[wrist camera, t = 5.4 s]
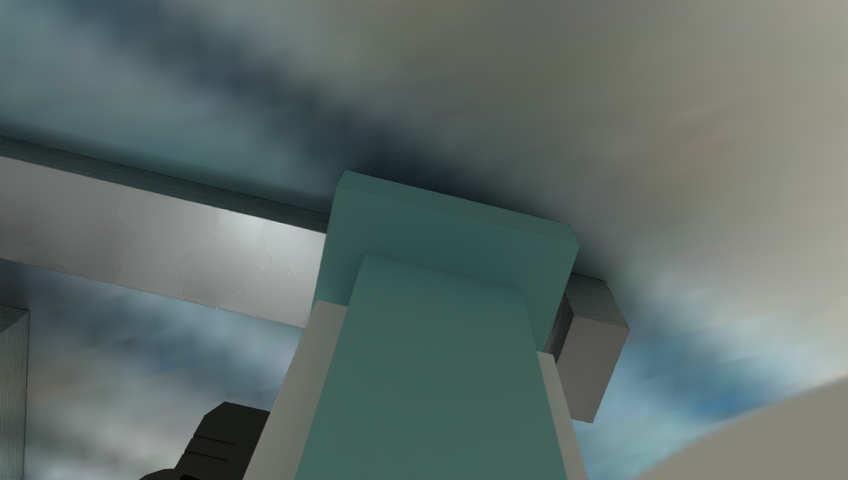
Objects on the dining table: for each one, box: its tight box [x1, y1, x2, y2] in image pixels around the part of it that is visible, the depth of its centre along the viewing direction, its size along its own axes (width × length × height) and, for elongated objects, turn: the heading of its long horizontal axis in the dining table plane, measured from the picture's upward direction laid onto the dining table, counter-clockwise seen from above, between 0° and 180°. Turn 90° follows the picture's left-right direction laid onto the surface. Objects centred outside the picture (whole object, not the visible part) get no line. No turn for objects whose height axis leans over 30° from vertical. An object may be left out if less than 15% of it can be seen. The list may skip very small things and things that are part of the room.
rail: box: [0, 136, 630, 423], centre depth 19 cm, size 3×24×3 cm, turn 76°
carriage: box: [294, 170, 580, 480], centre depth 13 cm, size 7×6×15 cm
